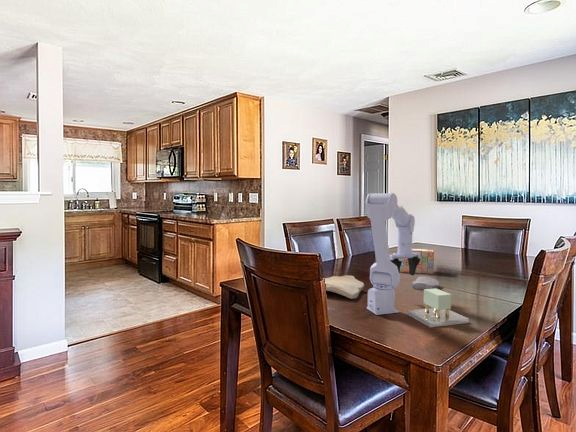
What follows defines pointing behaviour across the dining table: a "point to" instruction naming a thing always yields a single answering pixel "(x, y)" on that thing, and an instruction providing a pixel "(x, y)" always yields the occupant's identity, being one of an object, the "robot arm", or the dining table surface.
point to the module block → (437, 299)
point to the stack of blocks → (425, 262)
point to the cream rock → (344, 286)
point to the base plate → (437, 317)
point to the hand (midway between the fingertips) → (404, 275)
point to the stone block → (425, 283)
